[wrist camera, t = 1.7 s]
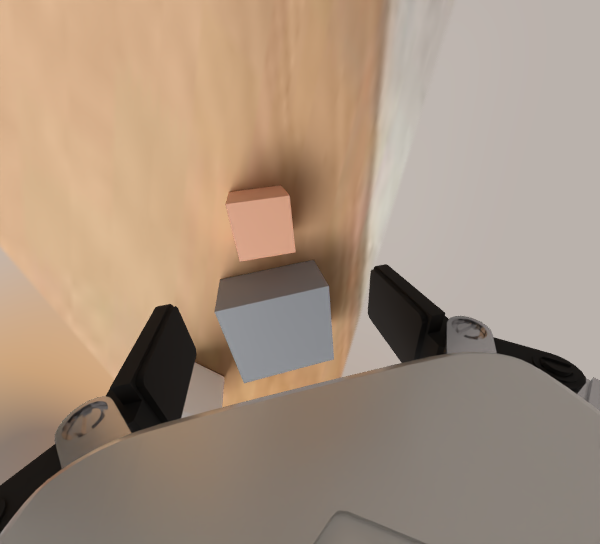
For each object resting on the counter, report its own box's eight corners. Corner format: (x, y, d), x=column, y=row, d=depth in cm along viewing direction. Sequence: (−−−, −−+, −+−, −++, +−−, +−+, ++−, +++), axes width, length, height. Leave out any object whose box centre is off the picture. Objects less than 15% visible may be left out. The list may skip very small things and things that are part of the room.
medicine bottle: (184, 355, 30) (153, 464, 20) (225, 376, 34) (218, 477, 24) (148, 384, 32) (103, 500, 21) (192, 401, 35) (171, 508, 25)
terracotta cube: (229, 191, 22) (225, 204, 18) (280, 185, 22) (289, 195, 18) (240, 240, 24) (239, 261, 20) (286, 233, 25) (295, 252, 21)
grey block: (220, 278, 26) (214, 311, 21) (313, 258, 28) (328, 285, 22) (243, 344, 32) (244, 383, 27) (319, 325, 33) (333, 359, 28)
